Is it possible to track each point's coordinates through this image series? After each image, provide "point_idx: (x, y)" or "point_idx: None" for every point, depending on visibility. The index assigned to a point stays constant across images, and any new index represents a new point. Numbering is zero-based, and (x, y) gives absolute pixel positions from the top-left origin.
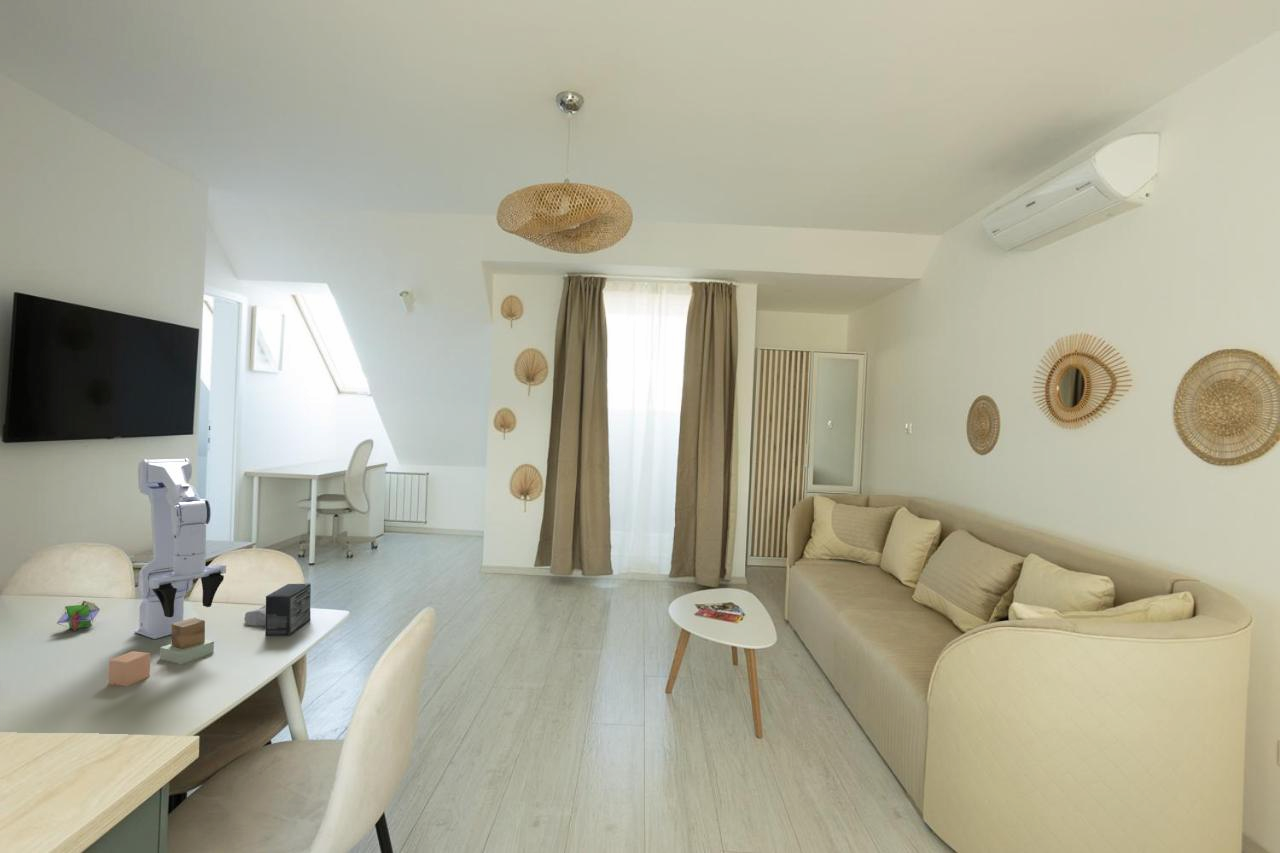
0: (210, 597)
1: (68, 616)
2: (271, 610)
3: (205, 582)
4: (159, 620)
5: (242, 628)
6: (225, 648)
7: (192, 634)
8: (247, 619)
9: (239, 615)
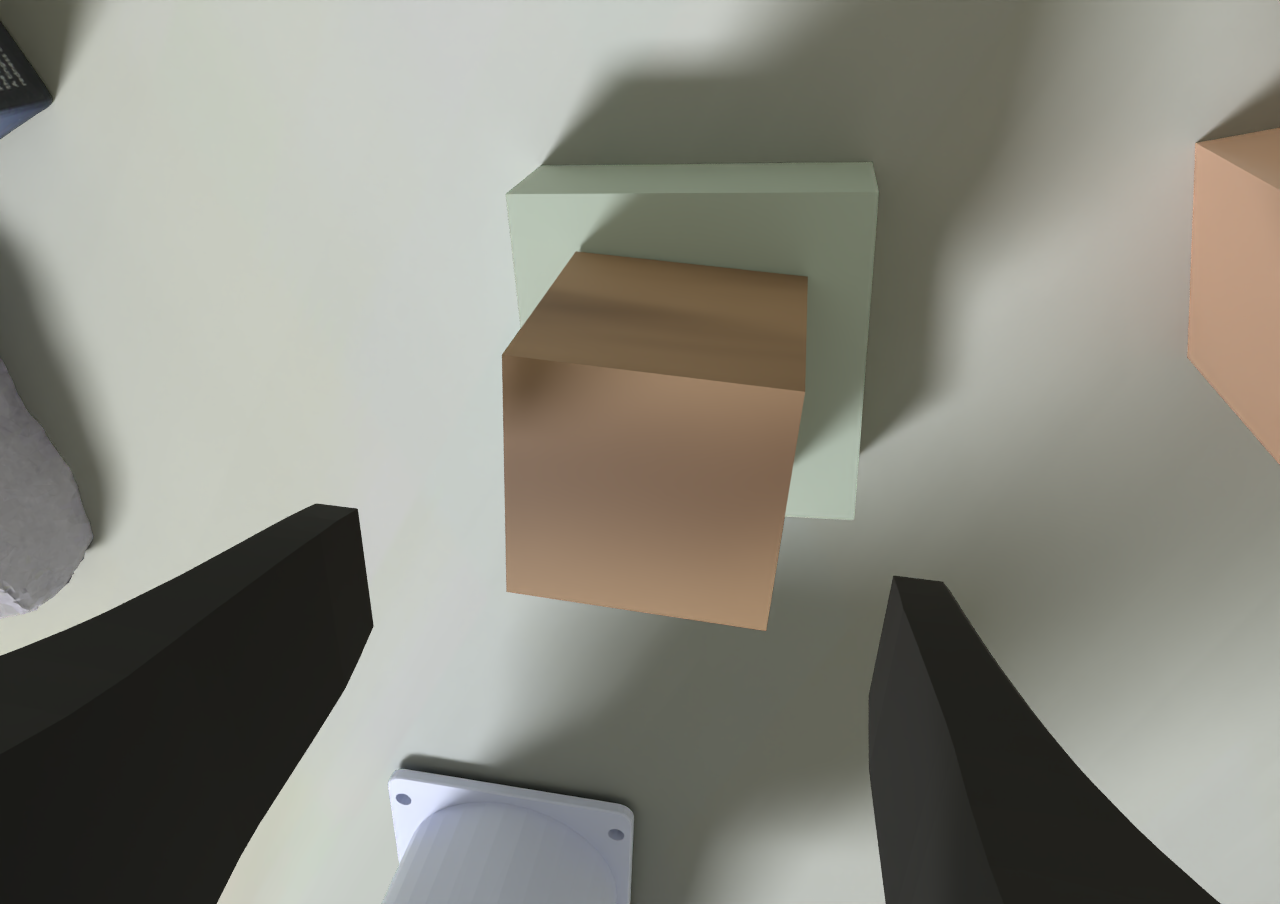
0: (241, 583)
1: None
2: None
3: None
4: None
5: (144, 465)
6: (431, 150)
7: (686, 314)
8: (55, 540)
9: None
